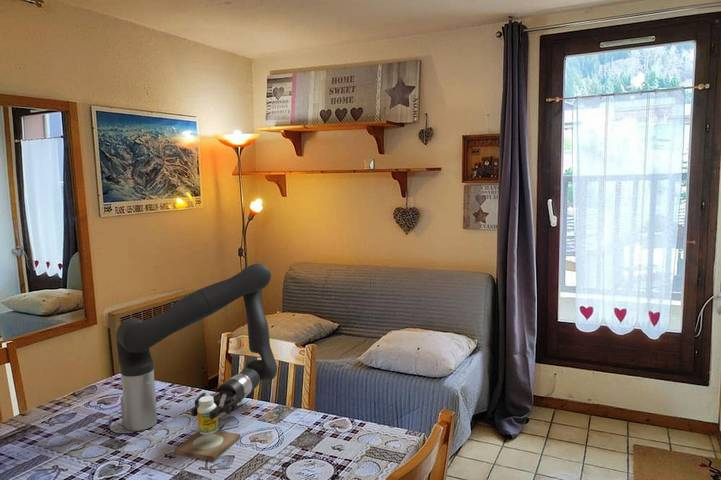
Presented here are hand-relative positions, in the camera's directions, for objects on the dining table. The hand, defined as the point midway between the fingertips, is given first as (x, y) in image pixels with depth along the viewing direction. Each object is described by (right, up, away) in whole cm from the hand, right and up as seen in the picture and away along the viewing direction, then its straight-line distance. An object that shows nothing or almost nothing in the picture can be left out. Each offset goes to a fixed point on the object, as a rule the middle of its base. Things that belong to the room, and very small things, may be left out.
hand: (201, 414), depth 147 cm
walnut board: (+1, -10, +3) cm, 11 cm away
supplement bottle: (+1, -6, +3) cm, 7 cm away
